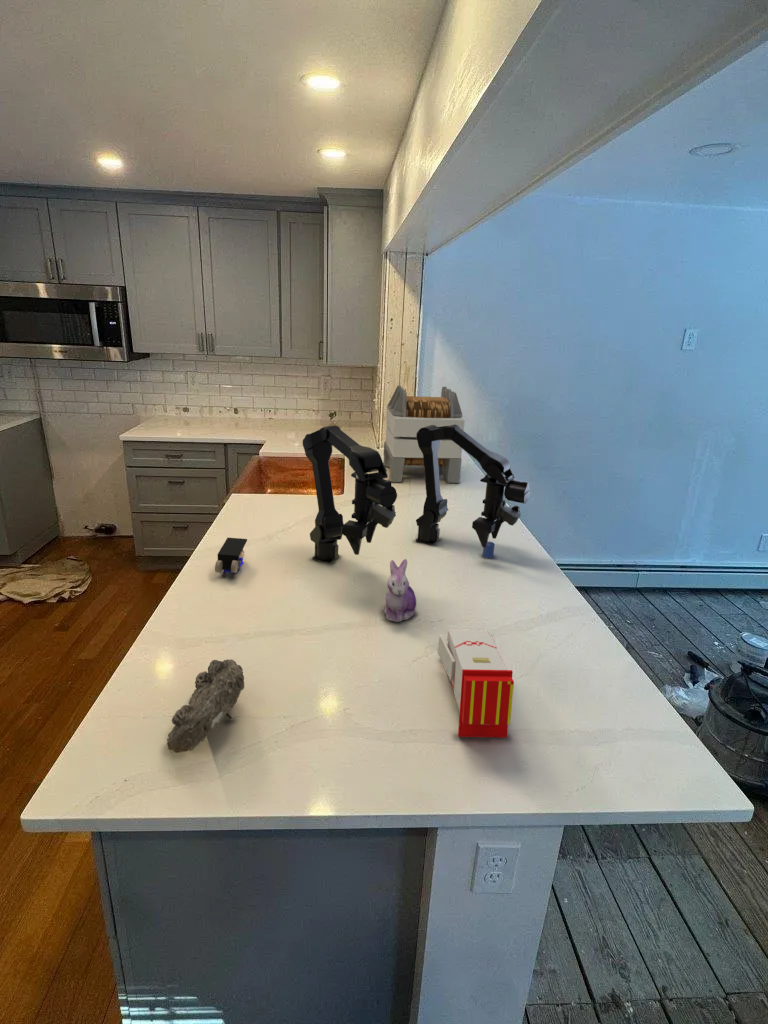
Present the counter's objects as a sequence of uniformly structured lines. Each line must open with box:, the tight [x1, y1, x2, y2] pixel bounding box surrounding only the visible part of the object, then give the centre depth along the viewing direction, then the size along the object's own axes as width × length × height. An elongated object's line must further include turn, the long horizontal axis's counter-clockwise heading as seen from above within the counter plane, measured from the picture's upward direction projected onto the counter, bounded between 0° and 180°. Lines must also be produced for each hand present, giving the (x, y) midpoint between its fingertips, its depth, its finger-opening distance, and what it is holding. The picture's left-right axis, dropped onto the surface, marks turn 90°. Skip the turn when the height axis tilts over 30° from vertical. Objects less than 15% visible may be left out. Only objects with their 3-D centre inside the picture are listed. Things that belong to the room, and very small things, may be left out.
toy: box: [437, 628, 515, 738], centre depth 117 cm, size 12×13×30 cm
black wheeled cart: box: [214, 537, 248, 578], centre depth 166 cm, size 7×8×15 cm
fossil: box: [166, 658, 245, 754], centre depth 106 cm, size 22×10×15 cm
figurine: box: [384, 558, 417, 623], centre depth 145 cm, size 9×10×15 cm
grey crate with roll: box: [383, 384, 465, 484], centre depth 268 cm, size 34×33×41 cm
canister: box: [482, 541, 496, 559], centre depth 184 cm, size 4×4×4 cm
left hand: (363, 548), depth 160 cm, fingers open, 9 cm apart
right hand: (489, 542), depth 183 cm, fingers open, 9 cm apart
